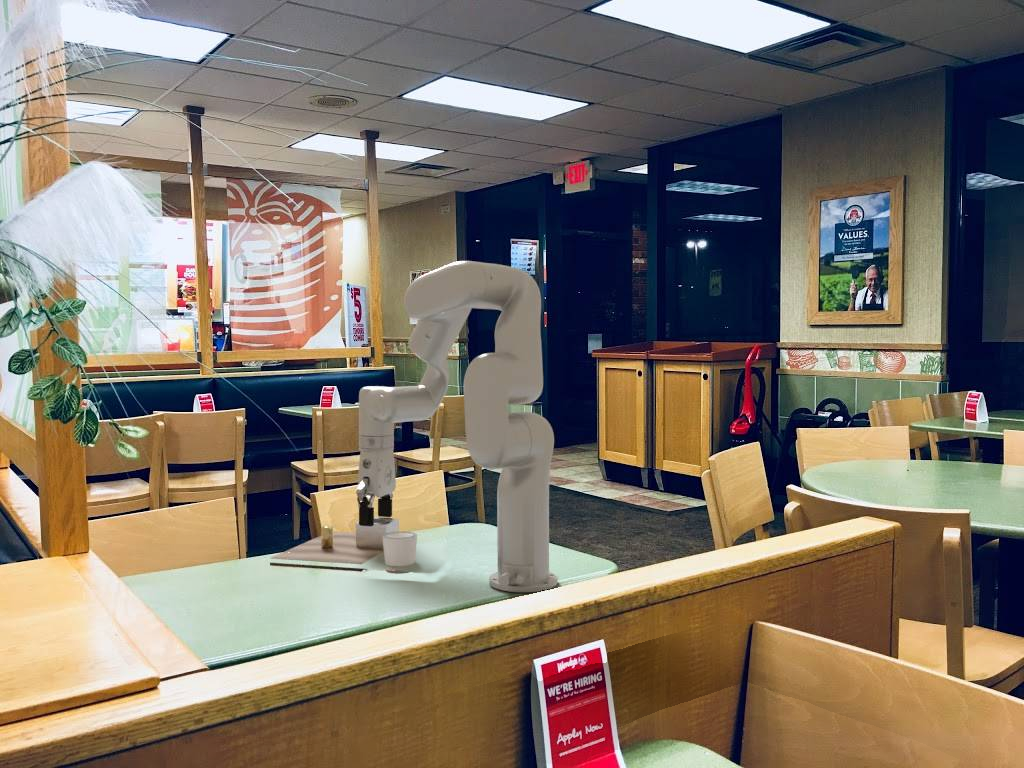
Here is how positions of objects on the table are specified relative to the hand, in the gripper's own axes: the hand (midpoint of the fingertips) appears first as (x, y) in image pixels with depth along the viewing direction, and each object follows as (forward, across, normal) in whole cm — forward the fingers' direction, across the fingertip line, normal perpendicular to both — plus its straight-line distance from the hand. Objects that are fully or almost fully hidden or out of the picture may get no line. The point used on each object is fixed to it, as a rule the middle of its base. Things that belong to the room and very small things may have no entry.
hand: (375, 521), depth 173 cm
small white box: (+5, 0, -1) cm, 5 cm away
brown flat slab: (+6, -4, +5) cm, 9 cm away
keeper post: (+5, -6, +8) cm, 12 cm away
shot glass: (+6, -14, -12) cm, 19 cm away
